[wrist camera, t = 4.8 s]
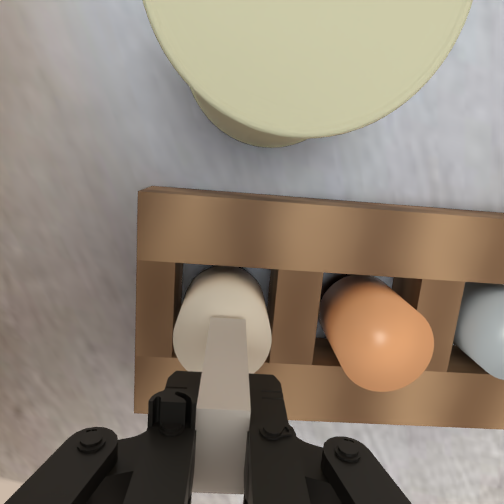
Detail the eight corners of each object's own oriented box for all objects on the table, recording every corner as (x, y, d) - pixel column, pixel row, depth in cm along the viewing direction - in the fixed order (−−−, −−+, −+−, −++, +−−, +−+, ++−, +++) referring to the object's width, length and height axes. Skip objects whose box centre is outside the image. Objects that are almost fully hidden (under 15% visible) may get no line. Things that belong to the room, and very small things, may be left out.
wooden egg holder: (147, 379, 26) (133, 413, 22) (152, 185, 23) (137, 191, 20) (514, 397, 27) (554, 431, 24) (559, 217, 25) (611, 227, 21)
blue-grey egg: (427, 339, 26) (468, 378, 21) (440, 272, 25) (486, 298, 20) (495, 343, 26) (549, 382, 22) (510, 276, 25) (571, 303, 21)
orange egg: (314, 345, 24) (333, 389, 19) (323, 271, 23) (345, 300, 18) (389, 349, 24) (425, 394, 19) (401, 276, 23) (442, 306, 18)
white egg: (183, 338, 23) (171, 381, 19) (186, 262, 22) (174, 289, 18) (260, 342, 23) (267, 386, 19) (267, 268, 22) (276, 296, 18)
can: (385, 2, 21) (566, -180, 10) (318, 171, 23) (403, 187, 12) (218, -72, 20) (196, -376, 9) (161, 111, 22) (82, 63, 11)
